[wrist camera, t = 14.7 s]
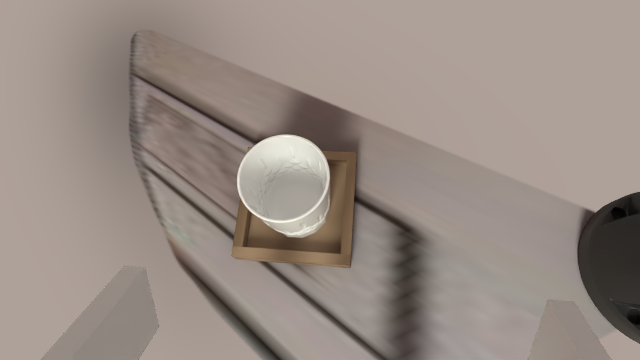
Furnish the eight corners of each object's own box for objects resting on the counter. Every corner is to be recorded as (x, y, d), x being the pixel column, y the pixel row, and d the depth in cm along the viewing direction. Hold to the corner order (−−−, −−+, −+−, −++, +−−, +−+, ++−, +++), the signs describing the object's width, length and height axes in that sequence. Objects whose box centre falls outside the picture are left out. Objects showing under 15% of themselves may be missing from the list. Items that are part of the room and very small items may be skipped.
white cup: (259, 179, 44) (233, 142, 34) (329, 167, 44) (322, 127, 34) (266, 249, 41) (240, 229, 32) (340, 237, 41) (336, 213, 32)
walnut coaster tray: (356, 160, 45) (356, 152, 42) (350, 267, 41) (350, 265, 38) (253, 155, 46) (248, 147, 44) (237, 259, 42) (231, 256, 40)
